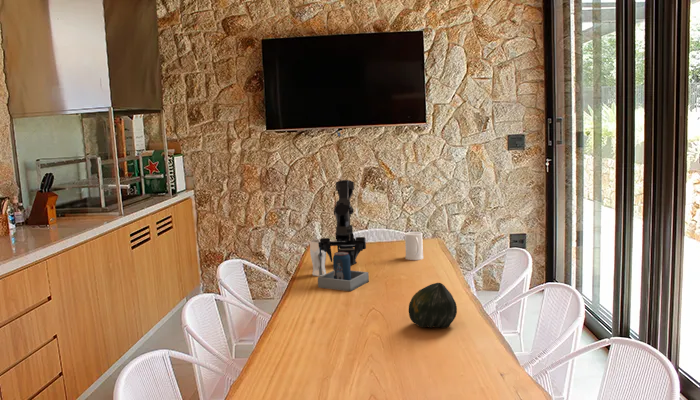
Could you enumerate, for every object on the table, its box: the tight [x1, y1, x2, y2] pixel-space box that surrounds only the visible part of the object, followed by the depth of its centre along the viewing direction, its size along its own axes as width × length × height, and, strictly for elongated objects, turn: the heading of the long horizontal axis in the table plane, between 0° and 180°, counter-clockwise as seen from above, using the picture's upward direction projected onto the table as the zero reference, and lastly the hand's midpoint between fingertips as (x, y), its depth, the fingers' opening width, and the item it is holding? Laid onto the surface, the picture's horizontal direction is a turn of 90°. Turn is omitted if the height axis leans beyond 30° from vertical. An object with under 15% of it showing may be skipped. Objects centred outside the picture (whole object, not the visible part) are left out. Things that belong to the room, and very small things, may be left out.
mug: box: [404, 231, 424, 261], centre depth 288 cm, size 12×8×12 cm
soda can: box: [332, 251, 352, 280], centre depth 249 cm, size 7×7×12 cm
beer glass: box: [309, 238, 327, 277], centre depth 266 cm, size 7×7×15 cm
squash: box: [408, 282, 458, 329], centre depth 197 cm, size 14×15×15 cm
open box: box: [317, 269, 370, 292], centre depth 250 cm, size 15×15×4 cm
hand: (342, 261), depth 250 cm, fingers open, 9 cm apart
